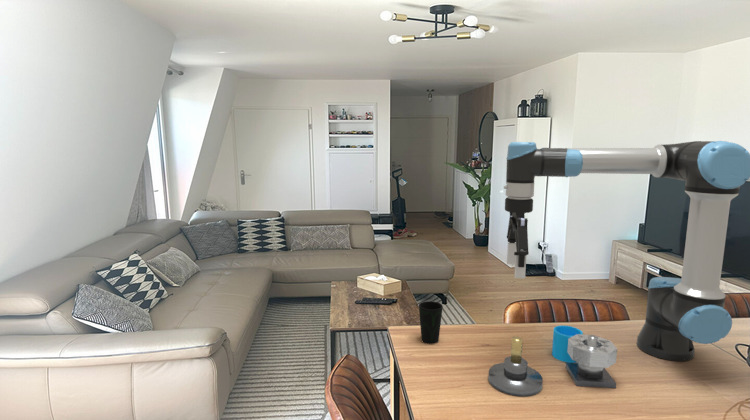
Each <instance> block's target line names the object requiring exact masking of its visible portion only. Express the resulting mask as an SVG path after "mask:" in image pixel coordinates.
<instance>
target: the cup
mask: <svg viewBox="0 0 750 420" xmlns="http://www.w3.org/2000/svg"><path fill="white" fill-rule="evenodd" d="M418 312H419V313H418V314H419V323H420V324H419V325H420V326H419V327H420V335H421V336H420V337H421V342H422V341H423V342H422V343H424V344H426V343H427V344H428V345H435V344H437V343H439V341H440V340H439V339H440V333H441V332H440V331H441V324H442V322H441V321H442V315H443V304H441V303H440V302H437V301H431V300H430V301H427V300H426V301H422V302H420V303H419V304H418Z"/></svg>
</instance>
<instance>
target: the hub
mask: <svg viewBox="0 0 750 420" xmlns="http://www.w3.org/2000/svg"><path fill="white" fill-rule="evenodd" d="M523 341H524V339H523V337H520V336H512V337H511V341H510V342H511V344H510V345H511V346H510V356H506V357H505V358H504V361H503V362H499V363H496V364H493V365H492V366H490V368H488V378H487V379H488V382H489V384H490V385H491V386H492V388H494V389H495V390H497V391H498V392H500V393H503V394H505V395H509V396H514V397H522V398H523V397H532V396H535V395H538V394H539V393H540V392H541V391H542V389H543V381H544V380H543V376H542V374H541V373H540V372H539V371H537V370H536V369H535V368H533V367H532V366H531V367H530V366H529V365H528V361H527V360H526V359H525V358H523V356H522V354H523Z"/></svg>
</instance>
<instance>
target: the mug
mask: <svg viewBox="0 0 750 420" xmlns="http://www.w3.org/2000/svg"><path fill="white" fill-rule="evenodd" d="M576 334H582V335H584V332H583V330H581V329H579V328H577V327H575V326H570V325H564V324H563V325H556V326H554V327H553V335H552V348H551V350H552V351H551V355H552V357H553V358H554V359H556V360H558V361H560V362H563V363H566V362H568V363H577V362H576V361H574V360H572V358H571V357H570V355H569V354H568V352H567V350H568V339H569V338H571V337H572V336H574V335H576Z"/></svg>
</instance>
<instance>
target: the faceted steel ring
mask: <svg viewBox="0 0 750 420" xmlns="http://www.w3.org/2000/svg"><path fill="white" fill-rule="evenodd" d="M588 335H589V334H583V335H582V334H576V335H574V336H572V337H571V338H569V339H568V350H567V352H568V354H569V355H570V357H571V358H572V360H574V361H576V362H575V363H578V362H579V363H581V364H584V365H586V366H589V367H603V368H605V369H608V368H610V367H611V366H613V365H615V364H616V363H617V356H618V355H617V354H618V353H617V352H618V348H617V346H616V345H615V344H614V343H613V342H612V341H611V340H609V339H606V338H603V337H600V336H597V335H596V336H597V337H598V339H597V348H596V347H589V346H587V341H588Z"/></svg>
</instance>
